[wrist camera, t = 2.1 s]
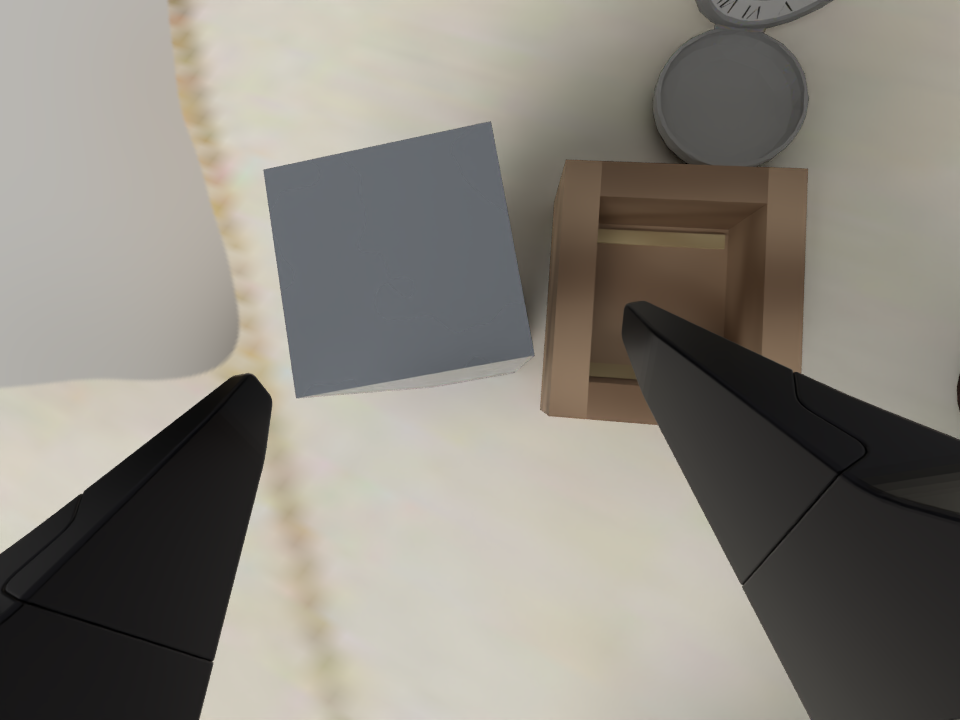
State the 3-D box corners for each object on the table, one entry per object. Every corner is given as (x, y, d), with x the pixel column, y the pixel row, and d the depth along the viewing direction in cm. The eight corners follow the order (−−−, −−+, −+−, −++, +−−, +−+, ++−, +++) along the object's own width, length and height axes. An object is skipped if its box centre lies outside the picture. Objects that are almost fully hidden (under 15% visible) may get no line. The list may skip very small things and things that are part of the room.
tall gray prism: (514, 372, 18) (534, 355, 6) (431, 387, 18) (296, 398, 6) (499, 290, 18) (490, 121, 6) (418, 306, 19) (263, 169, 7)
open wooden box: (739, 425, 17) (799, 436, 14) (540, 409, 18) (548, 415, 14) (748, 210, 18) (807, 168, 14) (554, 201, 18) (566, 159, 15)
